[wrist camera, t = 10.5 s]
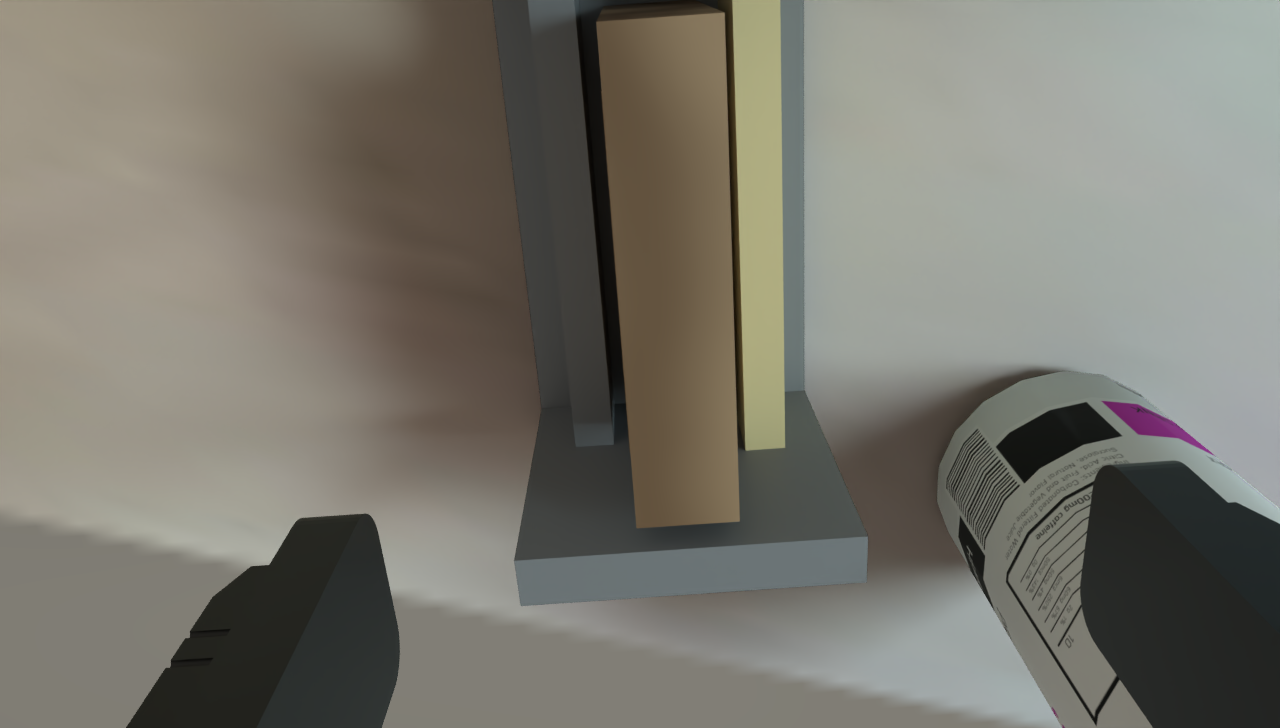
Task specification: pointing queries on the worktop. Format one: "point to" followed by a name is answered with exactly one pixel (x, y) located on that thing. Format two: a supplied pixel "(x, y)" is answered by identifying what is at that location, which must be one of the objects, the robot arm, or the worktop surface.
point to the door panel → (673, 255)
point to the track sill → (591, 343)
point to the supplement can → (1058, 519)
